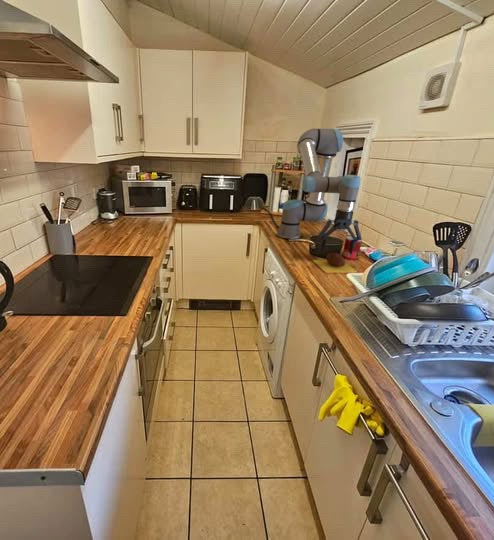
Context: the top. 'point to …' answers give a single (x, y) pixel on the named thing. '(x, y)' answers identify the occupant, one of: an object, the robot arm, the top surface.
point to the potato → (335, 260)
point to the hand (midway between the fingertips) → (336, 252)
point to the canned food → (355, 249)
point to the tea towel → (331, 269)
